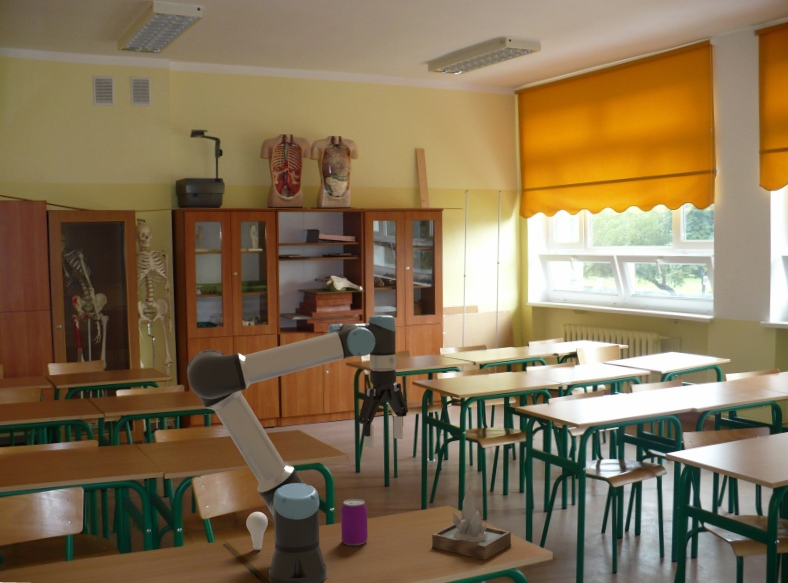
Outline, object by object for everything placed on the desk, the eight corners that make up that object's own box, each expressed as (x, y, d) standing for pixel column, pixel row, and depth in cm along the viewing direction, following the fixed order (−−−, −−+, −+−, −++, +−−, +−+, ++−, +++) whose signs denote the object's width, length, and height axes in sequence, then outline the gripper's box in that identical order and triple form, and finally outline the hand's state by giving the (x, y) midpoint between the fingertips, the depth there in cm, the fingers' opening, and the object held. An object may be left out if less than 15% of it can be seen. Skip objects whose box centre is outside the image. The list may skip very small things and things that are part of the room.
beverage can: (342, 547, 229) (341, 506, 229) (341, 538, 237) (340, 498, 237) (368, 546, 230) (367, 505, 230) (366, 537, 238) (366, 497, 237)
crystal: (459, 545, 221) (458, 492, 220) (449, 530, 234) (449, 480, 234) (493, 543, 222) (493, 490, 222) (482, 528, 235) (481, 478, 235)
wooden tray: (432, 546, 228) (432, 534, 228) (459, 532, 240) (459, 520, 240) (484, 559, 218) (484, 546, 217) (510, 544, 229) (510, 531, 229)
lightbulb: (242, 551, 227) (241, 513, 227) (255, 544, 232) (254, 507, 232) (259, 555, 224) (258, 516, 224) (272, 548, 230) (271, 510, 229)
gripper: (365, 375, 214) (366, 453, 214) (419, 365, 234) (420, 436, 234) (344, 373, 218) (345, 449, 219) (398, 363, 238) (399, 433, 239)
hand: (384, 442), depth 227 cm, fingers open, 13 cm apart
